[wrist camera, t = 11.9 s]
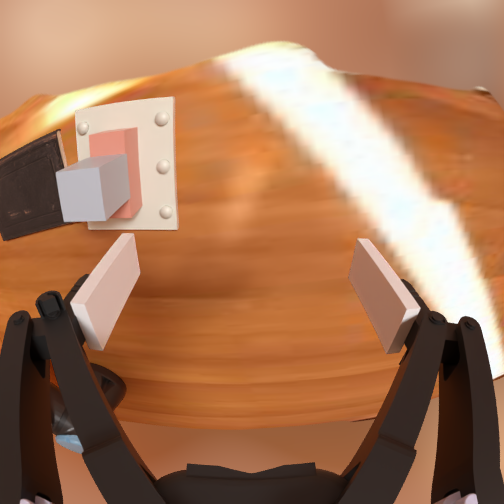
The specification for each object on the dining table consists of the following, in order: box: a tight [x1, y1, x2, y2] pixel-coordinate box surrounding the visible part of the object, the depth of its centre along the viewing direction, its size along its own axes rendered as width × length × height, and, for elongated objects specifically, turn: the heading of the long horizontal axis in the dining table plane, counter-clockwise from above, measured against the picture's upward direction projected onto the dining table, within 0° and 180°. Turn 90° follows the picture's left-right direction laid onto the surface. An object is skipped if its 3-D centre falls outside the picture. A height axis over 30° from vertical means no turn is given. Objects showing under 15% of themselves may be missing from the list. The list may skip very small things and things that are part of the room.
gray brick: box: [56, 154, 131, 222], centre depth 30 cm, size 6×6×8 cm
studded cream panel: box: [75, 97, 179, 230], centre depth 36 cm, size 16×20×6 cm
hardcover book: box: [0, 129, 73, 241], centre depth 39 cm, size 16×23×2 cm
